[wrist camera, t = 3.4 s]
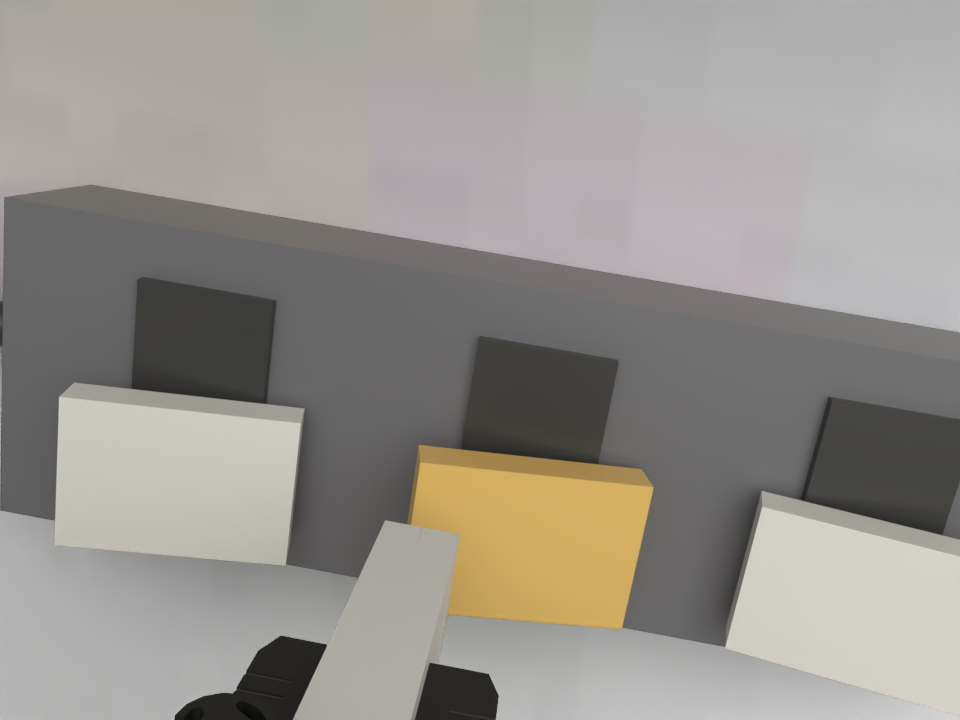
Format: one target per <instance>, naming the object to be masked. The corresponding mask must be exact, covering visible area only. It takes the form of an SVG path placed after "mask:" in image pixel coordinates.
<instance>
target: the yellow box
mask: <svg viewBox="0 0 960 720" xmlns="http://www.w3.org/2000/svg"><path fill="white" fill-rule="evenodd" d="M653 489H654V487H653V485H652V484H651V482H650V481H649V479H648V478H647V476H646V475H645V473H644V472H643V470H642V469H636V468H627V467H617V466H608V465H599V464H590V463H581V462H571V461H562V460H553V459H544V458H535V457H525V456H516V455H507V454H498V453H489V452H479V451H470V450H461V449H452V448H443V447H433V446H424V445H419V447H418V453H417V460H416V467H415V474H414V480H413V487H412V494H411V501H410V508H409V514H408V521H407V524H408V525H413V526H418V527H424V528H429V529H434V530H439V531H445V532H450V533H455V534H460V538H459V544H458V550H457V557H456V563H455V569H454V575H453V581H452V587H451V593H450V599H449V605H448V611H447V615H458V616H470V617H482V618H494V619H506V620H518V621H530V622H542V623H554V624H566V625H578V626H590V627H602V628H614V629H622V626H623V622H624V617H625V613H626V608H627V604H628V599H629V595H630V591H631V586H632V582H633V577H634V573H635V568H636V564H637V560H638V555H639V551H640V546H641V542H642V537H643V533H644V528H645V524H646V520H647V515H648V511H649V506H650V502H651V497H652V493H653Z"/></svg>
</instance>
